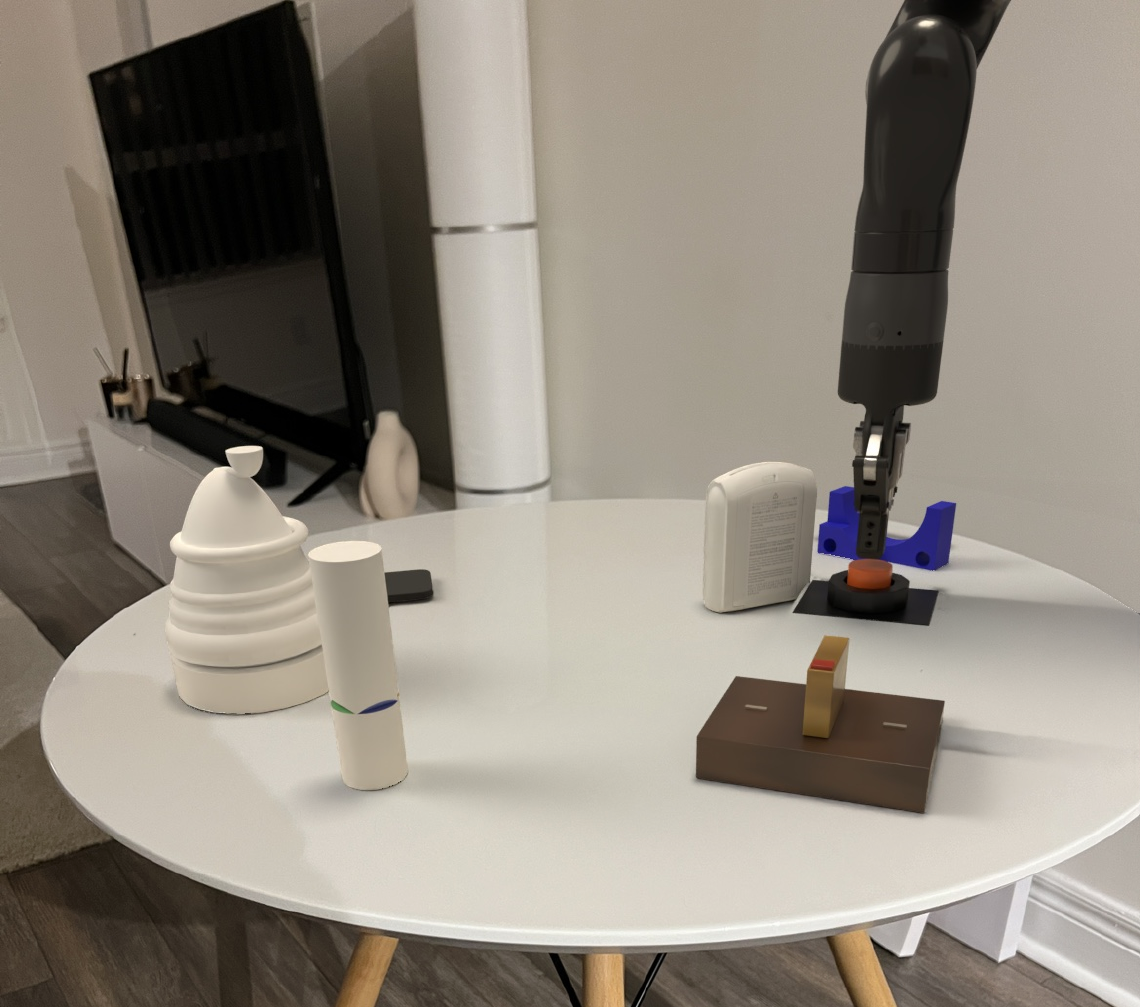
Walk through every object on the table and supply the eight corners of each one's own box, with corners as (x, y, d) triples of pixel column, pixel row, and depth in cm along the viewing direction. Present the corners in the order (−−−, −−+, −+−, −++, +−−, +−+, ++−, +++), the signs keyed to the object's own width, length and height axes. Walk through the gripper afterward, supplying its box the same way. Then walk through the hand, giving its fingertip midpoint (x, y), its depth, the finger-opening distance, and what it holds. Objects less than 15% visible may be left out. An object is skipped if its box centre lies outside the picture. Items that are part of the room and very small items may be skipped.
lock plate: (939, 741, 72) (945, 698, 70) (924, 813, 63) (930, 766, 62) (734, 714, 76) (735, 673, 75) (695, 778, 68) (696, 733, 67)
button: (893, 580, 92) (895, 560, 91) (887, 593, 89) (889, 573, 88) (850, 576, 93) (852, 557, 92) (843, 589, 90) (845, 569, 89)
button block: (936, 608, 94) (941, 570, 92) (926, 644, 87) (931, 603, 85) (810, 597, 98) (813, 560, 96) (791, 631, 91) (793, 591, 89)
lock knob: (819, 697, 71) (824, 631, 69) (844, 700, 71) (849, 633, 69) (802, 735, 66) (807, 665, 64) (828, 738, 66) (834, 668, 64)
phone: (276, 582, 105) (429, 567, 107) (277, 590, 105) (430, 576, 107) (269, 606, 98) (433, 591, 100) (271, 615, 99) (434, 599, 100)
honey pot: (370, 655, 89) (341, 432, 81) (295, 721, 78) (252, 471, 70) (234, 645, 92) (192, 430, 84) (143, 706, 81) (85, 466, 73)
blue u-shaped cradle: (817, 553, 110) (821, 494, 107) (840, 543, 112) (845, 485, 110) (926, 575, 102) (934, 512, 99) (948, 564, 105) (956, 503, 102)
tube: (352, 758, 72) (321, 541, 65) (414, 759, 72) (389, 540, 65) (333, 789, 69) (298, 562, 62) (399, 790, 68) (370, 562, 61)
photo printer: (789, 585, 101) (797, 452, 95) (816, 598, 97) (827, 460, 92) (694, 604, 97) (697, 466, 92) (720, 618, 94) (724, 476, 88)
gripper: (935, 347, 75) (906, 584, 83) (951, 326, 86) (924, 538, 94) (827, 345, 78) (809, 576, 86) (855, 325, 88) (837, 531, 96)
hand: (869, 555), depth 90 cm, fingers closed
